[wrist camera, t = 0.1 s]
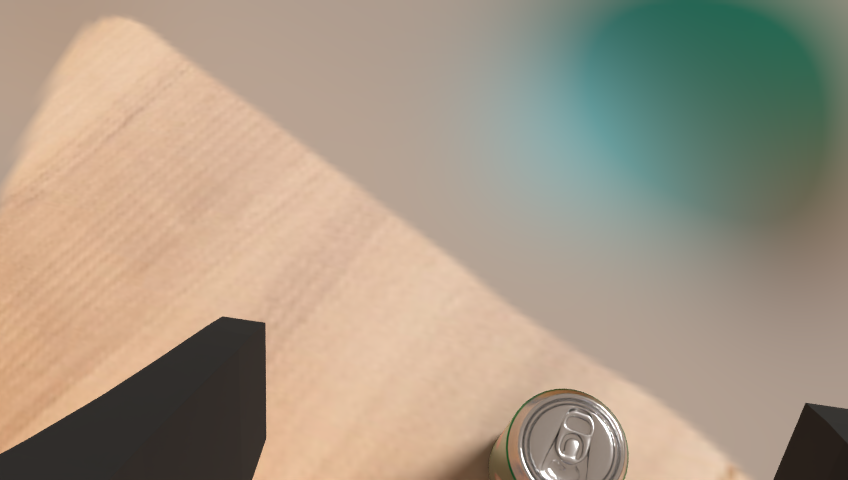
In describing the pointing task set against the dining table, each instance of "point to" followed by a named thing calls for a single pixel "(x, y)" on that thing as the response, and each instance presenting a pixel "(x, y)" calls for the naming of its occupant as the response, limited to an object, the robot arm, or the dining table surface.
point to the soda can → (561, 441)
